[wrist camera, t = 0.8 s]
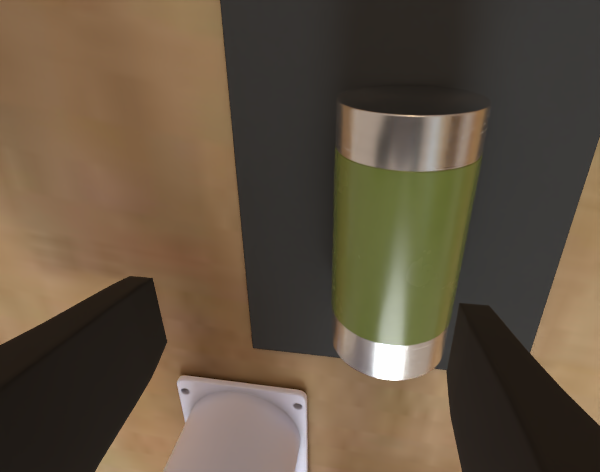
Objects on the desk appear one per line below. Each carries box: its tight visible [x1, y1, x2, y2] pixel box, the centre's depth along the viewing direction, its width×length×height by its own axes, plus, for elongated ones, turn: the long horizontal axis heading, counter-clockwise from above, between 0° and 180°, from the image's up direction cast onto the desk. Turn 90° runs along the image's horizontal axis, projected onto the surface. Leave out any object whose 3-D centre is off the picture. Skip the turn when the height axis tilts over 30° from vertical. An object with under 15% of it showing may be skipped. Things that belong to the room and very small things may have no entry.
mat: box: [220, 0, 600, 370], centre depth 18 cm, size 22×14×1 cm, turn 1°
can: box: [331, 84, 491, 380], centre depth 16 cm, size 5×5×10 cm
